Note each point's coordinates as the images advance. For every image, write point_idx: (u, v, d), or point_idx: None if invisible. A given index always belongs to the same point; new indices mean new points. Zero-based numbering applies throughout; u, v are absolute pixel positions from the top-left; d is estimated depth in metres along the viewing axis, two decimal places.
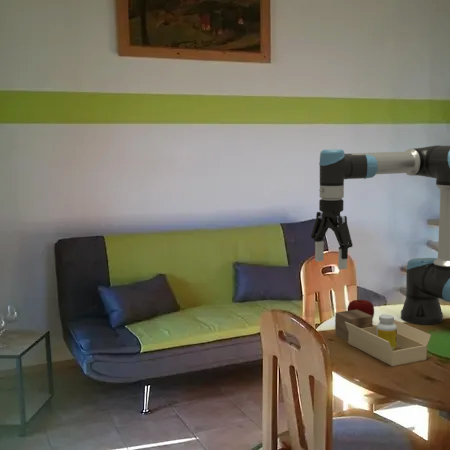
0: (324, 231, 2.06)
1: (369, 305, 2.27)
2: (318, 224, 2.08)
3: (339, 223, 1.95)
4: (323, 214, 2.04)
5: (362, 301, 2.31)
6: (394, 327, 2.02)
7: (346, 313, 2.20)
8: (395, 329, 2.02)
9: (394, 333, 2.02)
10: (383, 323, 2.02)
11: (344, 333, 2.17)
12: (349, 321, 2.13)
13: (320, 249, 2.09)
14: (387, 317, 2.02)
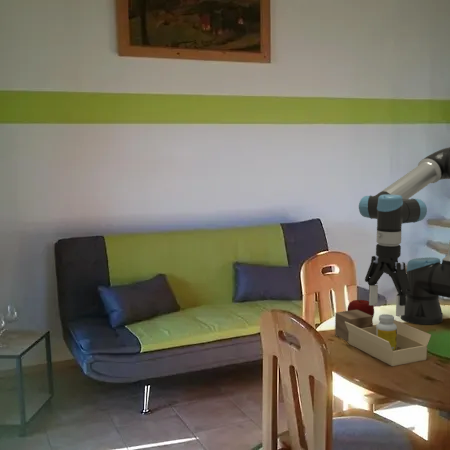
0: (379, 275, 2.05)
1: (369, 305, 2.27)
2: (373, 268, 2.07)
3: (397, 270, 1.95)
4: (379, 259, 2.03)
5: (362, 301, 2.31)
6: (394, 327, 2.02)
7: (346, 313, 2.20)
8: (395, 329, 2.02)
9: (394, 333, 2.02)
10: (383, 323, 2.02)
11: (344, 333, 2.17)
12: (349, 321, 2.13)
13: (374, 293, 2.08)
14: (387, 317, 2.02)
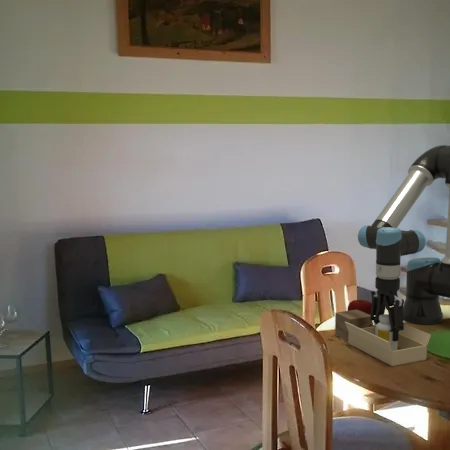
0: (382, 310, 2.06)
1: (369, 305, 2.27)
2: (375, 303, 2.07)
3: (395, 306, 1.97)
4: (378, 291, 2.05)
5: (362, 301, 2.31)
6: None
7: (346, 313, 2.20)
8: None
9: None
10: (383, 323, 2.02)
11: (344, 333, 2.17)
12: (349, 321, 2.13)
13: None
14: (387, 317, 2.02)
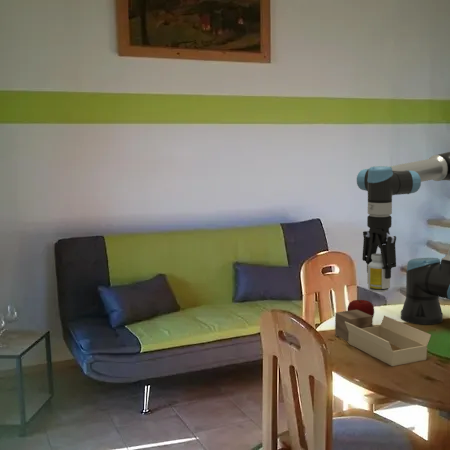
0: (374, 250, 2.07)
1: (369, 305, 2.27)
2: (367, 243, 2.09)
3: (388, 243, 1.98)
4: (370, 230, 2.06)
5: (362, 301, 2.31)
6: None
7: (346, 313, 2.20)
8: None
9: None
10: (376, 261, 2.03)
11: (344, 333, 2.17)
12: (349, 321, 2.13)
13: None
14: (379, 256, 2.03)
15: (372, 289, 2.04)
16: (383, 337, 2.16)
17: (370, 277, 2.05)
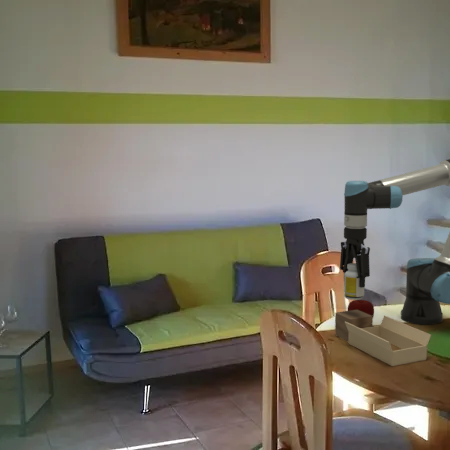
0: (350, 260, 2.18)
1: (369, 305, 2.27)
2: (344, 254, 2.20)
3: (362, 253, 2.09)
4: (347, 241, 2.17)
5: (362, 301, 2.31)
6: None
7: (346, 313, 2.20)
8: None
9: None
10: (351, 271, 2.15)
11: (344, 333, 2.17)
12: (349, 321, 2.13)
13: None
14: (354, 265, 2.14)
15: (347, 297, 2.15)
16: (383, 337, 2.16)
17: (345, 285, 2.16)
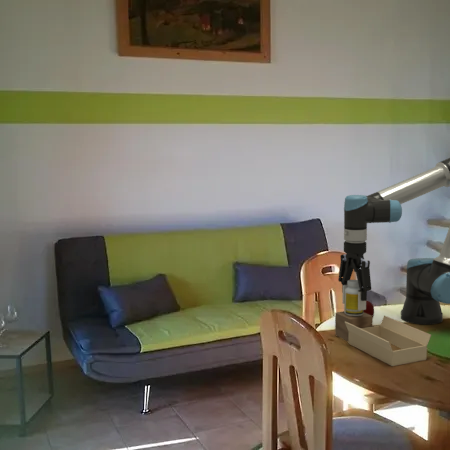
0: (349, 273, 2.19)
1: (369, 305, 2.27)
2: (343, 266, 2.21)
3: (362, 267, 2.10)
4: (347, 255, 2.18)
5: None
6: None
7: None
8: None
9: None
10: (351, 287, 2.15)
11: (344, 333, 2.17)
12: (349, 321, 2.13)
13: None
14: (354, 282, 2.15)
15: (347, 313, 2.16)
16: (383, 337, 2.16)
17: (346, 302, 2.17)
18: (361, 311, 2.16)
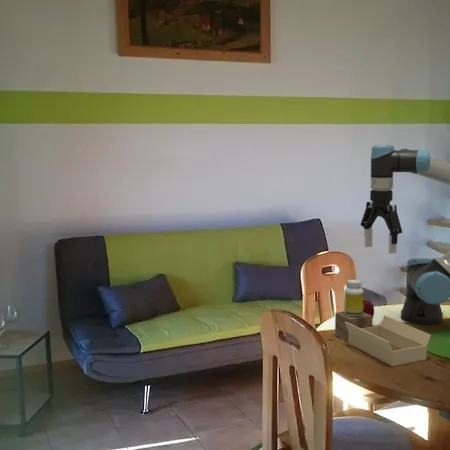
0: (373, 219, 2.26)
1: (369, 305, 2.27)
2: (368, 213, 2.28)
3: (390, 211, 2.15)
4: (373, 204, 2.23)
5: None
6: (361, 291, 2.15)
7: None
8: (362, 293, 2.15)
9: (361, 297, 2.15)
10: (351, 287, 2.15)
11: (344, 333, 2.17)
12: (349, 321, 2.13)
13: (369, 236, 2.29)
14: (354, 282, 2.15)
15: (347, 313, 2.16)
16: (383, 337, 2.16)
17: (346, 302, 2.17)
18: (361, 311, 2.16)
